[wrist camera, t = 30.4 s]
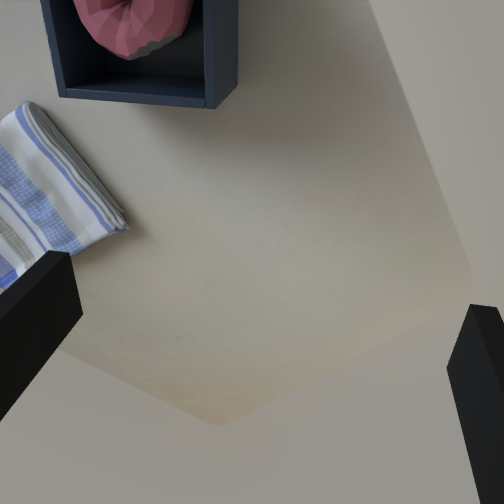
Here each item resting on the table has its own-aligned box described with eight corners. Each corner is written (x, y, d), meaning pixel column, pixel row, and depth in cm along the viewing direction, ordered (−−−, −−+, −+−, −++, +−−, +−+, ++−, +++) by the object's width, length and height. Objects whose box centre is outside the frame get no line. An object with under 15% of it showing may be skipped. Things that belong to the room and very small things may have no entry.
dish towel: (137, 222, 54) (127, 234, 51) (15, 287, 63) (2, 299, 61) (37, 92, 47) (21, 98, 45) (-82, 186, 57) (-100, 195, 54)
